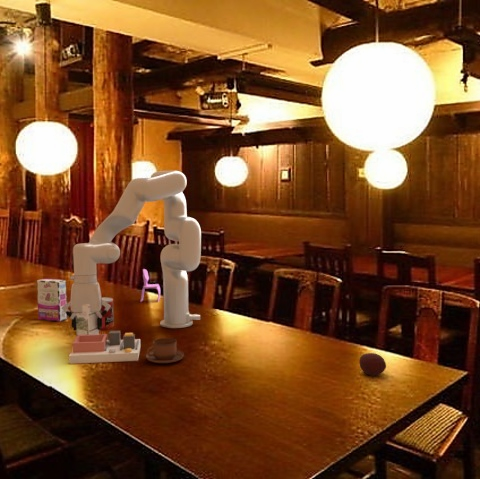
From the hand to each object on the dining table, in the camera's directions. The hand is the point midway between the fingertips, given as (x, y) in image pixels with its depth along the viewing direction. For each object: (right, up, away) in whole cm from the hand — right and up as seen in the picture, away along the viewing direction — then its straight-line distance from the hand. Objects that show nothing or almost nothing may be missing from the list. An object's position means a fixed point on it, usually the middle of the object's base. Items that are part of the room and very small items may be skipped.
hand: (87, 328), depth 202 cm
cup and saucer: (+30, -7, -19) cm, 36 cm away
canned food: (+1, -3, +22) cm, 22 cm away
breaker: (+12, -3, -10) cm, 16 cm away
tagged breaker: (+17, -4, -15) cm, 23 cm away
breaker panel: (+10, -6, -13) cm, 18 cm away
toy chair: (+11, +2, +70) cm, 71 cm away
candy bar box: (-23, -2, +35) cm, 42 cm away
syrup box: (0, -5, +1) cm, 5 cm away
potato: (+92, -8, -34) cm, 98 cm away
